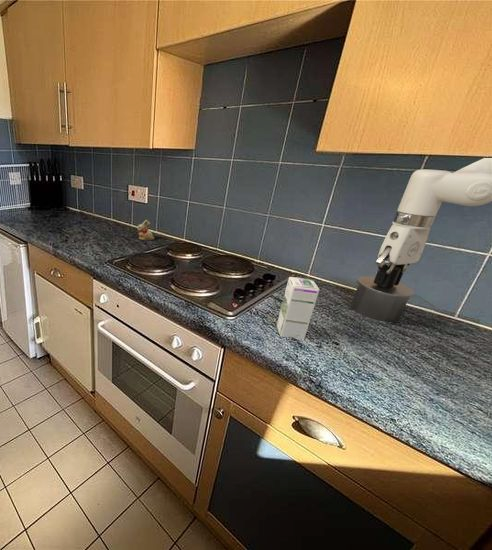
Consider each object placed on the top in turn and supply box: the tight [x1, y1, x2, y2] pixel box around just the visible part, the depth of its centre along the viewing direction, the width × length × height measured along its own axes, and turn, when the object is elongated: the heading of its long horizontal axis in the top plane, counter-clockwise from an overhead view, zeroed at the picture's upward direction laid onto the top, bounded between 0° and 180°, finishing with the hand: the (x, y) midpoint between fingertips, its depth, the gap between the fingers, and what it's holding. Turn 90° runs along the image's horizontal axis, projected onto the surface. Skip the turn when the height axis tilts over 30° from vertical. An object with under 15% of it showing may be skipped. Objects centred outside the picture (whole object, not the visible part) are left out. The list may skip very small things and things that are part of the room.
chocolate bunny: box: [136, 219, 155, 241], centre depth 148 cm, size 6×8×10 cm
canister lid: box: [356, 264, 415, 298], centre depth 84 cm, size 13×13×7 cm
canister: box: [349, 283, 410, 324], centre depth 87 cm, size 11×11×8 cm
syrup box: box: [276, 276, 320, 340], centre depth 74 cm, size 6×6×14 cm
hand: (385, 283), depth 85 cm, fingers open, 3 cm apart
